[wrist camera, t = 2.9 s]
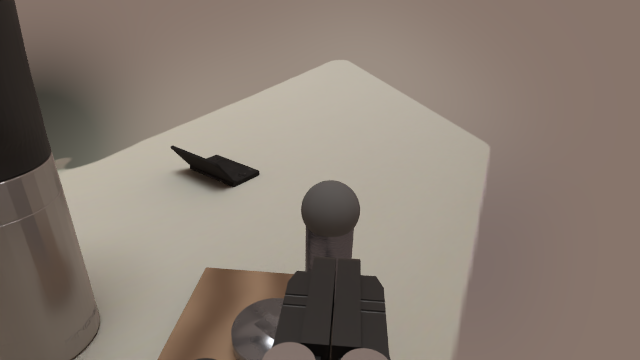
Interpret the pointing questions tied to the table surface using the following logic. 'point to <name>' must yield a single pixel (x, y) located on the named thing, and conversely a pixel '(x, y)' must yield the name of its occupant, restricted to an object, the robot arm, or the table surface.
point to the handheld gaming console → (218, 168)
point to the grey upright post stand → (321, 240)
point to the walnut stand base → (219, 312)
